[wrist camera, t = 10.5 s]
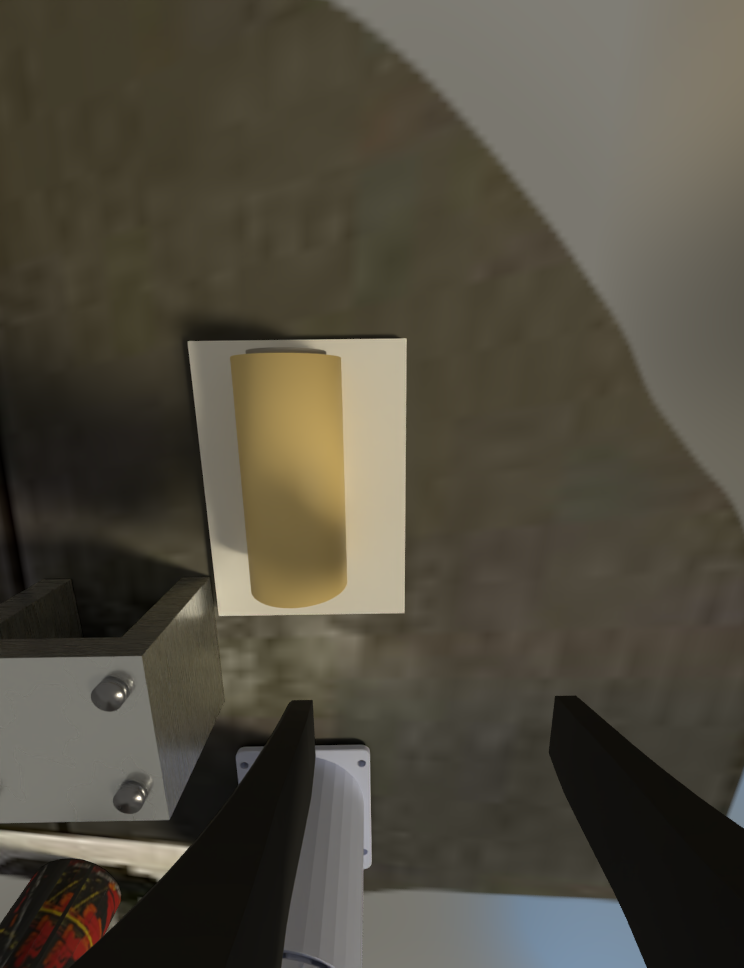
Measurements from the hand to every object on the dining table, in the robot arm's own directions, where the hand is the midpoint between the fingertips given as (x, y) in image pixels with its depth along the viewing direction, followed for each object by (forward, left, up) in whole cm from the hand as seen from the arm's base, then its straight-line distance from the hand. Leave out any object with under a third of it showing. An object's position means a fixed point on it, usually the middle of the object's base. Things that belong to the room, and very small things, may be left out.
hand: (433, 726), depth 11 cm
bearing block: (-4, +15, -10) cm, 18 cm away
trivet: (+5, +5, -10) cm, 12 cm away
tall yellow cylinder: (+6, +5, -9) cm, 12 cm away
